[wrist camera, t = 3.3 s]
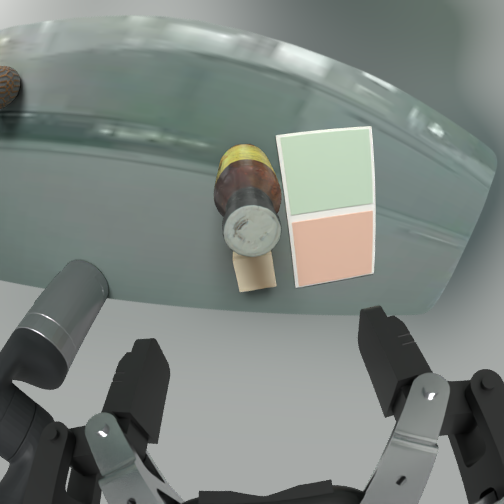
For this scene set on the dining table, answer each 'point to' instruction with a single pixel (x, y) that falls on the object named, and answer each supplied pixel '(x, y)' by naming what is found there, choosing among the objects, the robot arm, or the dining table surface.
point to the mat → (329, 202)
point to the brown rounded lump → (8, 85)
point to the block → (254, 271)
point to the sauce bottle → (248, 201)
